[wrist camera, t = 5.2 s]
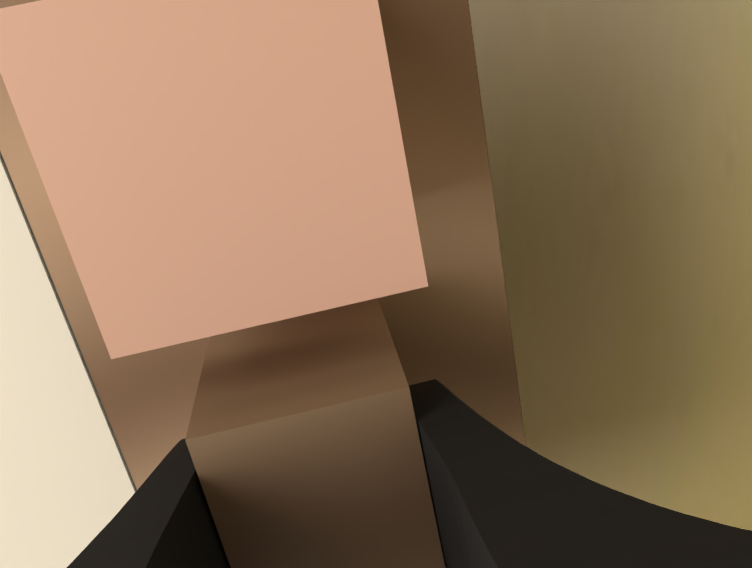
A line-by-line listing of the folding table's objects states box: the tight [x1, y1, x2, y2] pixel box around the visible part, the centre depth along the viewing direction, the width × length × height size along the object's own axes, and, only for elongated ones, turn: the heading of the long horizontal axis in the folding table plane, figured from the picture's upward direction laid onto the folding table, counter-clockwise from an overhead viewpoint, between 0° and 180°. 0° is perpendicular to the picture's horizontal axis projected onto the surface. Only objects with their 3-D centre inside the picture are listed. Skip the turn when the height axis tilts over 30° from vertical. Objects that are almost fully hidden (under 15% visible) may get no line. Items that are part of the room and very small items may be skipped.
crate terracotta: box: [0, 0, 428, 359], centre depth 9 cm, size 4×4×4 cm
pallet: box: [0, 0, 526, 568], centre depth 12 cm, size 17×8×6 cm, turn 11°
